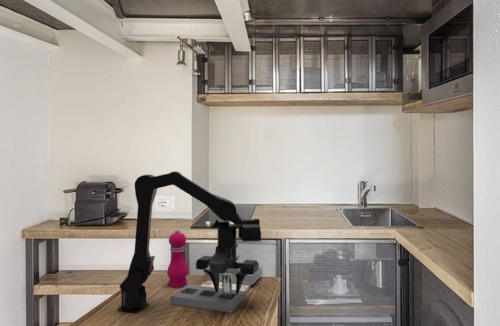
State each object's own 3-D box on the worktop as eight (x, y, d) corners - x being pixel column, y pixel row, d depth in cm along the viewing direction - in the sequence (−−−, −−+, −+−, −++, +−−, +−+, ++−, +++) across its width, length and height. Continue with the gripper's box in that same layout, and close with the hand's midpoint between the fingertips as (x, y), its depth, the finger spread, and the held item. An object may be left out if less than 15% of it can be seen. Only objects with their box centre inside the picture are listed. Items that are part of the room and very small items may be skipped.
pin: (220, 305, 109) (220, 275, 109) (224, 301, 111) (224, 272, 111) (229, 306, 108) (229, 276, 108) (233, 302, 110) (233, 273, 110)
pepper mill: (191, 282, 130) (191, 226, 130) (182, 289, 123) (182, 230, 123) (173, 280, 132) (173, 226, 132) (163, 287, 125) (163, 229, 125)
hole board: (170, 304, 110) (170, 295, 110) (188, 291, 120) (188, 284, 120) (231, 312, 103) (231, 304, 103) (244, 298, 114) (244, 291, 114)
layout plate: (197, 289, 122) (197, 286, 122) (209, 280, 131) (209, 278, 131) (241, 294, 117) (241, 292, 117) (250, 285, 126) (250, 283, 126)
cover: (204, 279, 130) (204, 265, 130) (217, 270, 141) (217, 257, 141) (252, 285, 124) (252, 270, 124) (262, 275, 135) (262, 261, 135)
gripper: (186, 245, 105) (187, 298, 105) (246, 250, 99) (247, 307, 99) (203, 237, 115) (204, 286, 116) (259, 241, 109) (259, 293, 109)
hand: (227, 292), depth 110 cm, fingers open, 6 cm apart
